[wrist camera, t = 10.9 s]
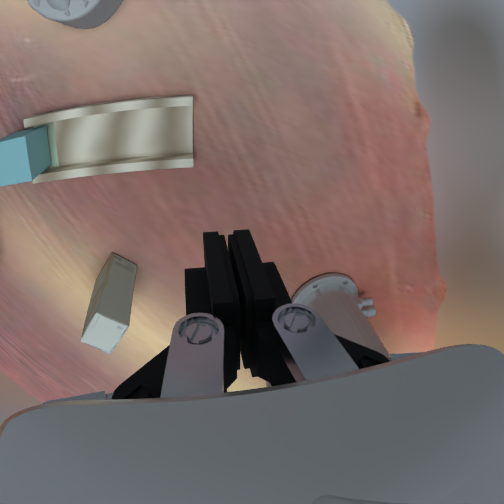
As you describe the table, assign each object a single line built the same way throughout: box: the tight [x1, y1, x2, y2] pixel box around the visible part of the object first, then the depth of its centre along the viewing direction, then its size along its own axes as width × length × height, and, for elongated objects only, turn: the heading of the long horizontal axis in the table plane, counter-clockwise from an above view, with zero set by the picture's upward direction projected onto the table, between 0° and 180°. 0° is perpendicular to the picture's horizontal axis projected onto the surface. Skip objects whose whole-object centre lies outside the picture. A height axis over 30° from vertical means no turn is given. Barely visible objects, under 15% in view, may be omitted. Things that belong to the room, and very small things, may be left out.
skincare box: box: [81, 253, 137, 354], centre depth 39 cm, size 6×4×12 cm
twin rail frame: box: [24, 95, 193, 184], centre depth 32 cm, size 20×8×3 cm, turn 88°
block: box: [0, 125, 51, 186], centre depth 28 cm, size 5×5×6 cm
